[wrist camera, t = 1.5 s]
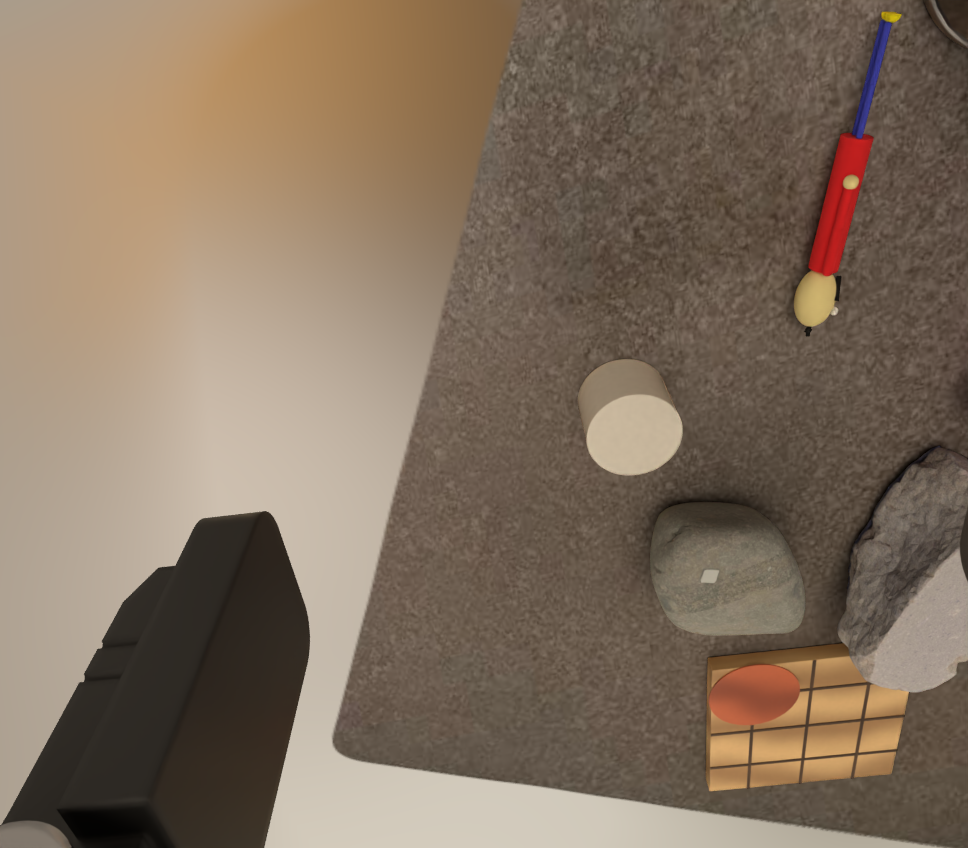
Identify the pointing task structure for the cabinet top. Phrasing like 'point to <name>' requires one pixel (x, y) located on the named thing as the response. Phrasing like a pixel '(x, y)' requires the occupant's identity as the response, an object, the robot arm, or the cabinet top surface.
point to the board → (797, 719)
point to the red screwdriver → (840, 201)
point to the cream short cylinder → (628, 417)
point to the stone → (725, 571)
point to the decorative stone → (911, 579)
